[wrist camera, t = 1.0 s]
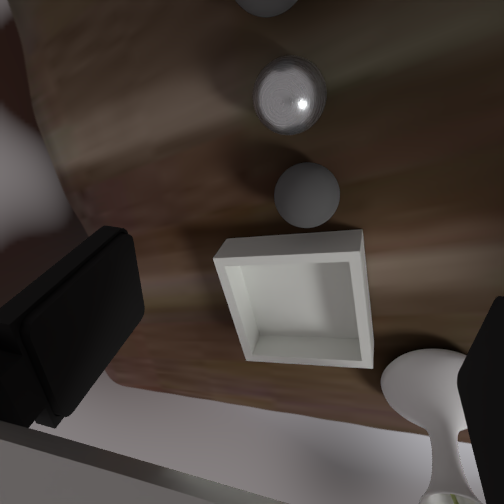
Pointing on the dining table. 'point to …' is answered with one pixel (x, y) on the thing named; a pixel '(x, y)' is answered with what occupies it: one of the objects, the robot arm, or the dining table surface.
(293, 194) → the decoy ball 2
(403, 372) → the flower in vase
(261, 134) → the dining table surface
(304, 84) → the steel ball
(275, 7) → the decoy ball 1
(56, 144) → the dining table surface
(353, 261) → the tray
